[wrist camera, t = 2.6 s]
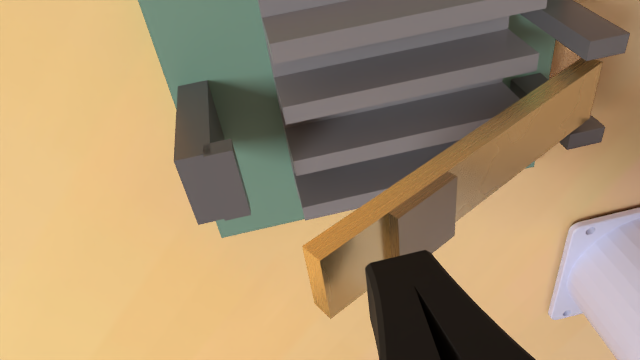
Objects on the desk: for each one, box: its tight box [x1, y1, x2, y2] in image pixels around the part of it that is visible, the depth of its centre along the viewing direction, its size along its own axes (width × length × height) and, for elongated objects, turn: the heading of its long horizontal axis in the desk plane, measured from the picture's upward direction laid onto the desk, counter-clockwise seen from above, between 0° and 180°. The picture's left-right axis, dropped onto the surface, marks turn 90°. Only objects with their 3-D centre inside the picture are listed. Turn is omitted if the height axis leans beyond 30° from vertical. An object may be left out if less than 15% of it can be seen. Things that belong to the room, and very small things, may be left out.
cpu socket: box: [138, 0, 630, 238], centre depth 17 cm, size 14×12×5 cm
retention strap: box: [302, 58, 603, 319], centre depth 14 cm, size 11×2×1 cm, turn 97°
